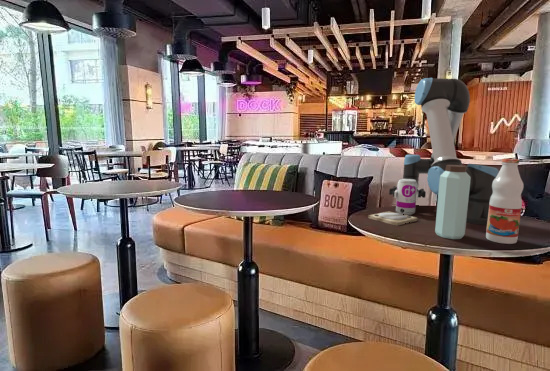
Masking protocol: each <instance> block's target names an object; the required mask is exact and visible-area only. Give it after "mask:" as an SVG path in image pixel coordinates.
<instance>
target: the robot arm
mask: <svg viewBox="0 0 550 371" xmlns="http://www.w3.org/2000/svg"><path fill="white" fill-rule="evenodd" d="M470 100H471V95H470V90H469V87H468V86H467V85H466V83H464V81H462V80H460V79H458V78H439V77H438V78H435V77H425V78H422V79H420V81H419V82H418V84H417V86H416V89H415V92H414V103H415V105H417V106H420V107H421V111H422V112H423V113H425V116H426V120H427V126H428V131H429V137H430V143H431V149H432V153H431V156H430V158H421V155H419V154H406V155H405V156H404V162H403V176H402V179H414V180H416V182H417V192H416V201H418V199H419V198H421V197H422V198H424V199H425V198H426V194H427V192H426V191H425V189H424V188H419V185H420V184H419V181H420V180H419V179H420V177H419V176H420V174H421V175H422V174H423V175H425V174H426V175H427V176H426V177H427V178H426V180H427V185H428V187H429V189H430V191H431V192H432V193H433V194H435V195H437V196H438V193H439V182H440V175H441V174H442V173H443V172H445V169H446V165H462V166H463V163H462V159H460V158H458V157H457V153H456V152H457V151H456V148H455V143H454V141H455V138H456V135H457V133H458V130H459V127H460V124H461V121H462V119H463V117H464V114H466V113H467V112H468V109H469V106H470V102H471V101H470ZM466 166H467V167H466V172H467V174H468V175H469V176H470V177H471V179H470V189H469V199H468V209H467V218H466V223H468V224H469V223H470V224H475V225H483V226H484V225H485V226H487V221H488V212H489V202H490V197H491V195H492V193H493V190H492V182H493V180H494V179H495V178H496V176H497V175H498V173H499V171H500V170H499V169H498V168H497V167H493V166H488V165H481V164H476V163H475V164H474V163H467V165H466ZM388 194H389V195H390V196H391V195H392V197H393V198H394V199H397V186H393V187H391V188H389V190H388Z"/></svg>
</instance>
